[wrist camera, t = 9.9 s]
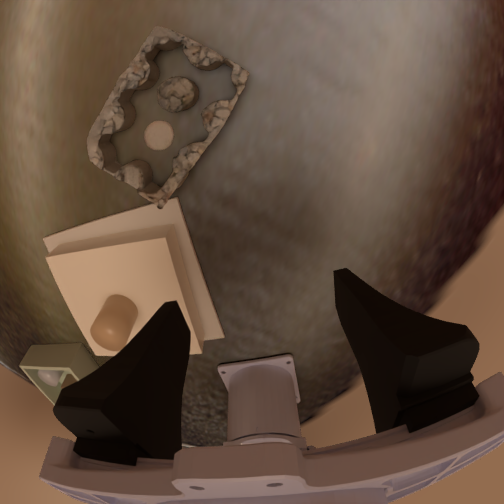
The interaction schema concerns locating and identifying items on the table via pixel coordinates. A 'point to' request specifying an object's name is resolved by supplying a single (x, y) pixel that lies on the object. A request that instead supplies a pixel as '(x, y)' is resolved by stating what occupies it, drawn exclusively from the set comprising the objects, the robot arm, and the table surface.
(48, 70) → the table surface
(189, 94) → the rocky grey tray
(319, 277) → the table surface
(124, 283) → the lid
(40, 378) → the storage box
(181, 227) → the mat
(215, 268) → the table surface
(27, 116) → the table surface
